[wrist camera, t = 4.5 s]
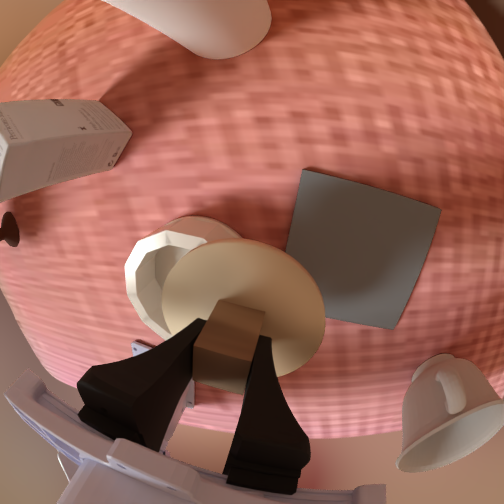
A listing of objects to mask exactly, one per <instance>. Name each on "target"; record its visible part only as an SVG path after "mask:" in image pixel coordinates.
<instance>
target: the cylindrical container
mask: <svg viewBox="0 0 504 504" xmlns="http://www.w3.org/2000/svg"><path fill="white" fill-rule="evenodd" d="M102 1H104V2H106V3H109V4H111V5H113V6H115V7H117V8H119V9H121V10H123V11H125V12H127V13H128V14H130V15H132V16H134V17H136V18H138V19H139V20H141V21H143V22H145V23H147V24H148V25H150V26H152V27H153V28H155V29H157V30H158V31H160V32H162V33H163V34H165V35H167V36H168V37H170V38H171V39H173V40H175V41H176V42H178V43H179V44H181V45H182V46H184V47H185V48H187V49H188V50H190V51H191V52H193V53H194V54H196V55H198V56H201V57H203V58H208V59H227V58H232V57H235V56H239V55H241V54H243V53H245V52H247V51H249V50H250V49H252V48H253V47H255V46H256V45H257V44H258V43H259V42H261V41H262V40H263V38H264V37H265V35H266V34H267V33H268V30H269V28H270V26H271V20H272V17H271V11H270V8H269V5H268V2H267V0H102Z"/></svg>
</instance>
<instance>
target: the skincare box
mask: <svg viewBox="0 0 504 504" xmlns="http://www.w3.org/2000/svg"><path fill="white" fill-rule="evenodd" d="M131 136H132V132H131V130H130V129H129V128H128V127H127V125H125V124H124V123H123V122H122V121H121V120H120V119H119V118H118V117H117V116H116V115H115V114H114V113H113V112H112V111H110V110H109V109H108V108H107V107H106V106H104V105H103V104H102V103H100V102H99V101H96V100H74V99H46V100H24V101H12V102H3V103H0V203H1V202H4V201H6V200H9V199H11V198H14V197H17V196H20V195H23V194H26V193H29V192H32V191H35V190H38V189H41V188H44V187H47V186H51V185H54V184H58V183H61V182H64V181H68V180H72V179H76V178H80V177H83V176H87V175H91V174H96V173H100V172H104V171H109V170H111V169H112V168H113V166H114V165H115V163H116V161H117V160H118V158H119V156H120V154H121V153H122V151H123V149H124V148H125V146H126V144H127V143H128V141H129V139H130V137H131Z"/></svg>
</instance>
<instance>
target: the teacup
mask: <svg viewBox="0 0 504 504" xmlns="http://www.w3.org/2000/svg"><path fill="white" fill-rule="evenodd" d="M503 425H504V399H501V398H500V397H499V396H498V394H497V393H496V392H495V390H494V389H493V388H492V386H491V385H490V383H489V382H488V380H487V379H486V377H485V376H484V375H483V373H482V372H481V371H480V369H479V368H478V367H477V366H476V365H475V364H473V363H472V362H471V361H469V360H467V359H462V358H455V357H454V356H453V355H451V354H447V353H446V354H439V355H436V356H434V357H432V358H430V359H428V360H427V361H425V362H424V363H422V364H421V365H420V366H419V367H418V368H417V369H416V371H415V372H414V374H413V376H412V384H411V385H410V386H409V388H408V390H407V392H406V394H405V397H404V400H403V406H402V431H403V442H402V452H401V454H400V456H399V457H398V458H397V460H396V467H397V468H398V469H400V470H401V471H404V472H410V473H415V472H424V471H429V470H433V469H437V468H440V467H443V466H445V465H448V464H450V463H453V462H455V461H457V460H459V459H461V458H463V457H465V456H467V455H468V454H470V453H472V452H473V451H475V450H476V449H478V448H479V447H481V446H482V445H483V444H485V443H486V442H487V441H488V440H490V439H491V438H492V437H493V436H494V435H495V434H496V433H497V432H498V431H499V429H501V427H502V426H503Z"/></svg>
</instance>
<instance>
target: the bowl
mask: <svg viewBox="0 0 504 504" xmlns="http://www.w3.org/2000/svg"><path fill="white" fill-rule="evenodd" d="M226 238H242V237H241V236H240V235H239V234H238V233H237V232H236V231H235V230H233V229H232V228H231V227H229V226H228V225H226V224H224V223H222V222H220V221H218V220H215V219H213V218H209V217H205V216H185V217H181V218H177V219H175V220H173V221H171V222H169V223H167V224H166V225H164V226H163V227H160V228H158V229H157V230H155V231H153V232H152V233H150V234H149V235H147V236H145V237H144V238H142V239H141V240H139V241H138V242H137V244H136V246H135V247H134V249H133V251H132V253H131V255H130V257H129V258H128V260H127V262H126V264H125V277H126V288H127V295H128V297H129V299H130V301H131V303H132V304H133V306H134V308H135V310H136V311H137V313H138V315H139V317H140V318H141V320H142V322H144V323H145V324H146V325H147V326H148V327H150V328H151V329H152V330H153V331H154V332H156V333H157V334H158V335H159V336H161V337H162V338H163V339H164V340H168V339H169V338H171V337H172V336H173V335H172V334H171V332H170V330H169V328H168V326H167V324H166V321H165V318H164V315H163V310H162V290H163V286H164V283H165V280H166V278H167V276H168V274H169V272H170V271H171V269H172V268H173V267H174V266H175V265H176V263H177V262H178V261H179V260H180V259H181V258H182V257H183V256H185V255H186V254H187V253H188V252H189V251H191V250H192V249H194V248H196V247H198V246H199V245H202V244H204V243H207V242H209V241H214V240H218V239H226Z"/></svg>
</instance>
